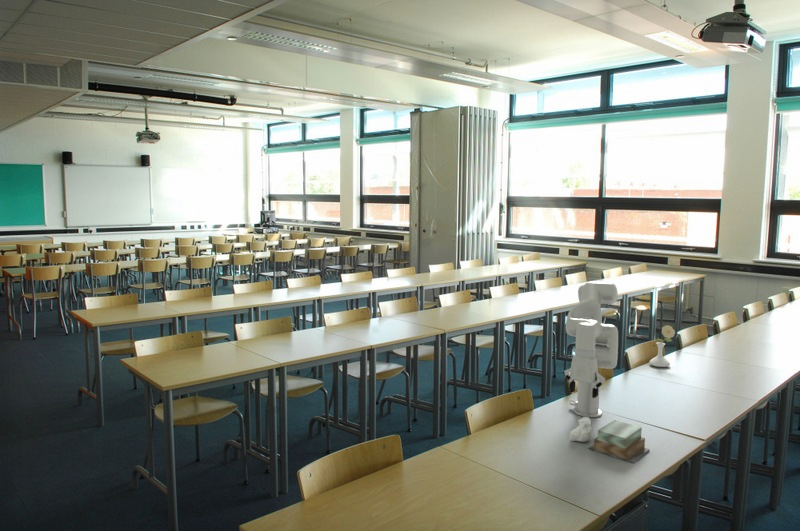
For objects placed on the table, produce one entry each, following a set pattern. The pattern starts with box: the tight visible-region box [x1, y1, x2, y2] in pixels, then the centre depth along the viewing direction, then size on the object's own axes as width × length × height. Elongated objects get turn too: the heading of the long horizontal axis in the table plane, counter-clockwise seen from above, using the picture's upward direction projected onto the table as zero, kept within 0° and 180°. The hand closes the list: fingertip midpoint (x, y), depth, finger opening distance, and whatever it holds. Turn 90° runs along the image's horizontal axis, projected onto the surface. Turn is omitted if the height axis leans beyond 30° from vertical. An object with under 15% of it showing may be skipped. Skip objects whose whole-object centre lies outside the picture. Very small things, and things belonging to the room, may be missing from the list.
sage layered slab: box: [588, 419, 650, 464], centre depth 230 cm, size 18×15×9 cm
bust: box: [568, 416, 593, 443], centre depth 239 cm, size 12×8×11 cm
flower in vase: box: [649, 324, 676, 368], centre depth 346 cm, size 13×11×25 cm
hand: (583, 394), depth 237 cm, fingers open, 9 cm apart
